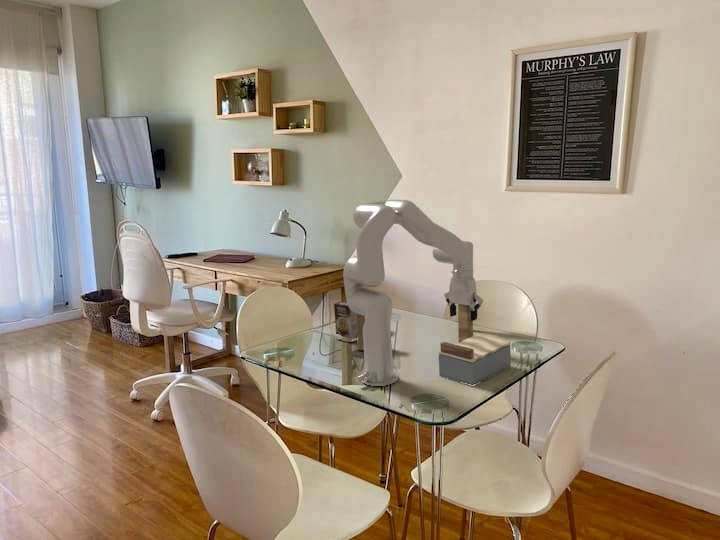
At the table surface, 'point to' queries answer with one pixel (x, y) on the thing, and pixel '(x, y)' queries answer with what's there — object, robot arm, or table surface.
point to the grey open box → (474, 367)
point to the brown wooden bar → (464, 322)
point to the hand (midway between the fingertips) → (463, 317)
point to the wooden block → (360, 330)
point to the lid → (472, 348)
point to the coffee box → (345, 320)
